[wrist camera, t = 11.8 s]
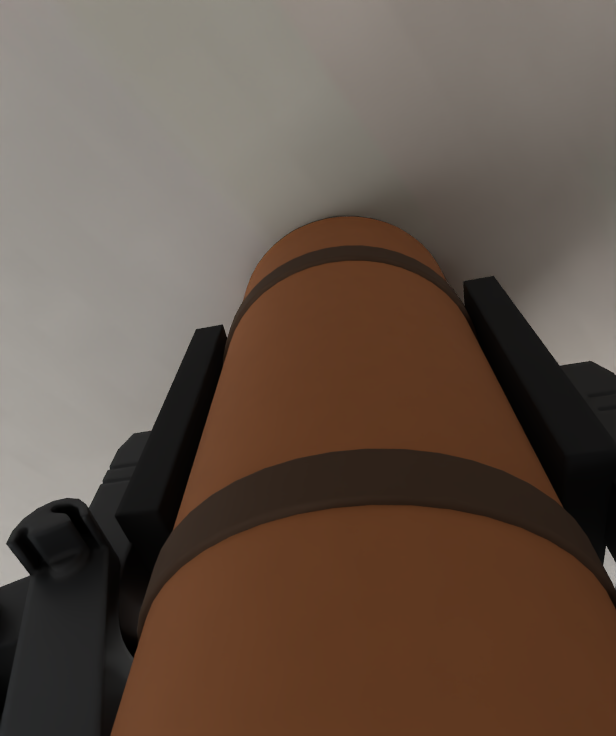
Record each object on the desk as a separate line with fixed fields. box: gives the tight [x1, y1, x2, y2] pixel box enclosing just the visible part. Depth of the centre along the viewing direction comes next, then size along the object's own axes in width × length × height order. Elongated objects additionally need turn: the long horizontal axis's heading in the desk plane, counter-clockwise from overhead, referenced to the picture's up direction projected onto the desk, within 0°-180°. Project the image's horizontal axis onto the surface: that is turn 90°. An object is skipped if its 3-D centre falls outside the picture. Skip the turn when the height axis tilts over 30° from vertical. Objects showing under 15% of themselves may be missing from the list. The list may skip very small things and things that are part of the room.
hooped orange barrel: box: [110, 217, 616, 736], centre depth 10 cm, size 6×6×13 cm
